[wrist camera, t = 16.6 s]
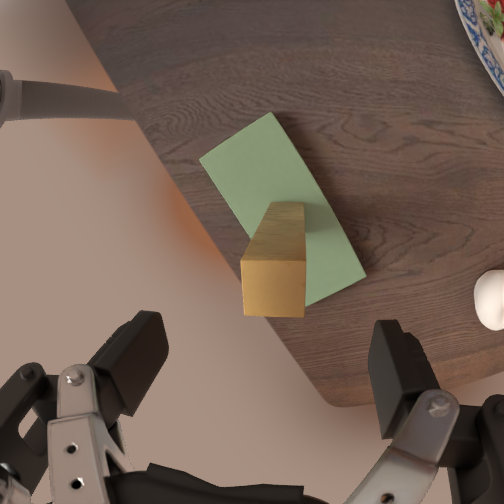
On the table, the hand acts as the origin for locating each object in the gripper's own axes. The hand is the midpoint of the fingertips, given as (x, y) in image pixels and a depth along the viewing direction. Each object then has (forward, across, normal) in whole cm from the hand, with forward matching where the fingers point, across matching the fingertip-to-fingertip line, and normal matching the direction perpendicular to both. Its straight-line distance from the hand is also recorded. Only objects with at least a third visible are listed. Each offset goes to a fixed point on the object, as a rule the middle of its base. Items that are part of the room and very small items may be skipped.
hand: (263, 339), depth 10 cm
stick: (+18, 0, 0) cm, 18 cm away
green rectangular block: (+19, 0, 0) cm, 19 cm away
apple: (+19, -25, +8) cm, 33 cm away
